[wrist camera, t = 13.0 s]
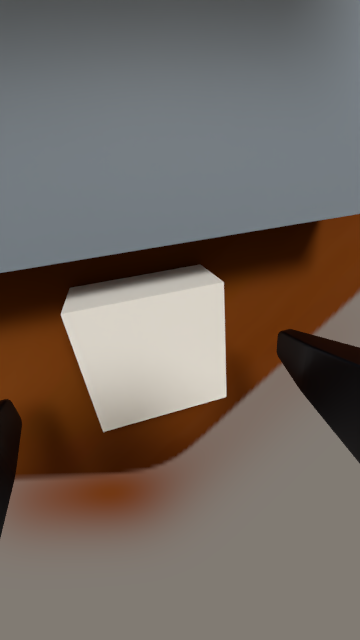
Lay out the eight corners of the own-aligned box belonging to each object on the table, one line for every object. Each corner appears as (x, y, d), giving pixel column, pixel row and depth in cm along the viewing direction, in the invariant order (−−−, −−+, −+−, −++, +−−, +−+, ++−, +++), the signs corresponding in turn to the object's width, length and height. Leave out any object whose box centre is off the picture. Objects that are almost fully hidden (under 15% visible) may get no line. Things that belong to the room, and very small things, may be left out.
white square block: (197, 262, 10) (223, 282, 8) (205, 360, 13) (226, 396, 11) (70, 285, 10) (60, 314, 7) (103, 386, 12) (103, 432, 10)
